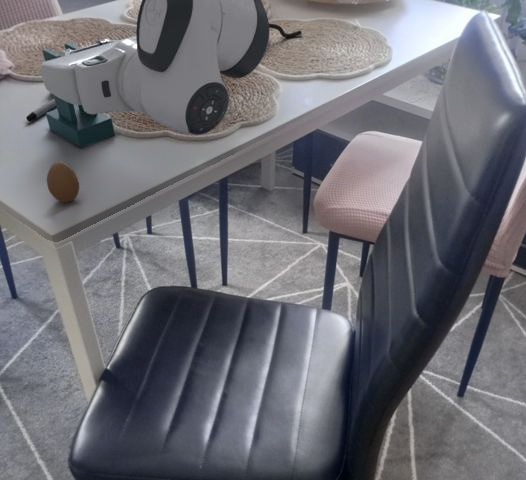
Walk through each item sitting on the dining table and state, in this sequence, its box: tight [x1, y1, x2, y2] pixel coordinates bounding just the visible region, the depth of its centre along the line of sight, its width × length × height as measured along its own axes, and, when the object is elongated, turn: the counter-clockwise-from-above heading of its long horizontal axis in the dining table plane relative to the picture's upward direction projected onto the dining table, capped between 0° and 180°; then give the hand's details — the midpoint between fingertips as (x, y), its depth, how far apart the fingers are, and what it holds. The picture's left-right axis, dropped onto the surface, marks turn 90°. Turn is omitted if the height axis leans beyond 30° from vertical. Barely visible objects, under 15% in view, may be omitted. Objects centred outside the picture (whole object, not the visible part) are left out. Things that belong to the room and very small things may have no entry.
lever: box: [58, 43, 101, 54], centre depth 94 cm, size 10×5×2 cm, turn 44°
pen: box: [26, 98, 57, 122], centre depth 113 cm, size 1×16×1 cm, turn 158°
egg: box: [46, 161, 80, 203], centre depth 87 cm, size 4×4×6 cm
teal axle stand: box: [42, 41, 116, 149], centre depth 100 cm, size 10×7×14 cm
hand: (82, 49), depth 91 cm, fingers closed on lever, 5 cm apart
